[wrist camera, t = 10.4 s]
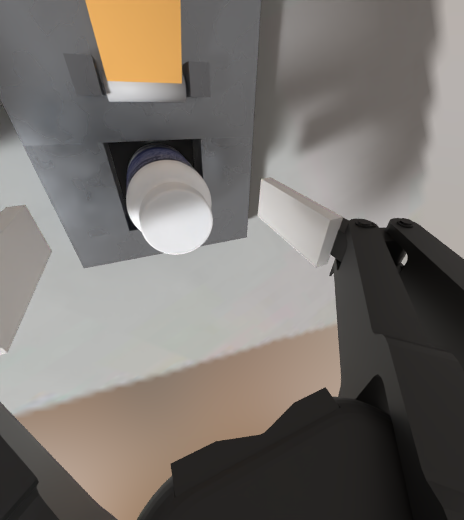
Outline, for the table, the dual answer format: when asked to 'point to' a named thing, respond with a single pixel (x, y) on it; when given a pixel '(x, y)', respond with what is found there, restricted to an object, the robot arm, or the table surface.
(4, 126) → the table surface
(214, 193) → the hitch plate
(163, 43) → the lever
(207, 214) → the pill bottle
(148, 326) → the table surface
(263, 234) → the table surface
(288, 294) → the table surface
